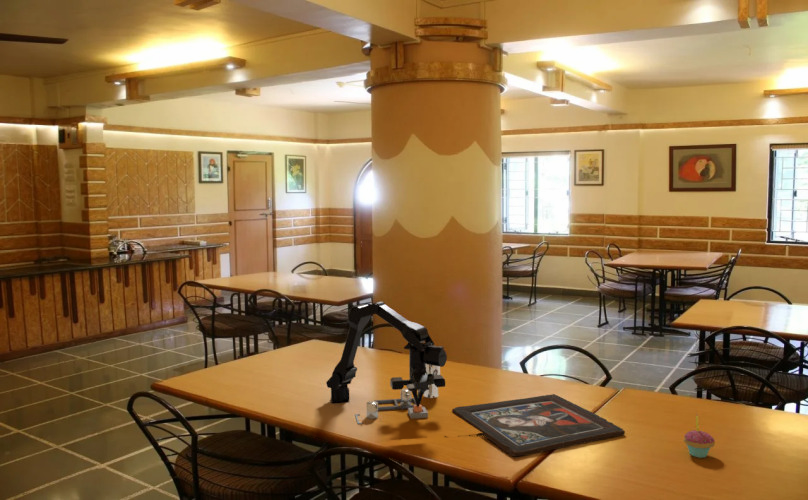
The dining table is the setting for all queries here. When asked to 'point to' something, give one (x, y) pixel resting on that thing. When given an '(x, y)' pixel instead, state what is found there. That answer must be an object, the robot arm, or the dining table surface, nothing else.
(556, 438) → the religious icon
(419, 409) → the brown egg
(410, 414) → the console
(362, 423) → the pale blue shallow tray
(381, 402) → the grey divided tray
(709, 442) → the cupcake
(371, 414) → the cylinder
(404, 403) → the cylinder
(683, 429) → the dining table surface
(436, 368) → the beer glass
